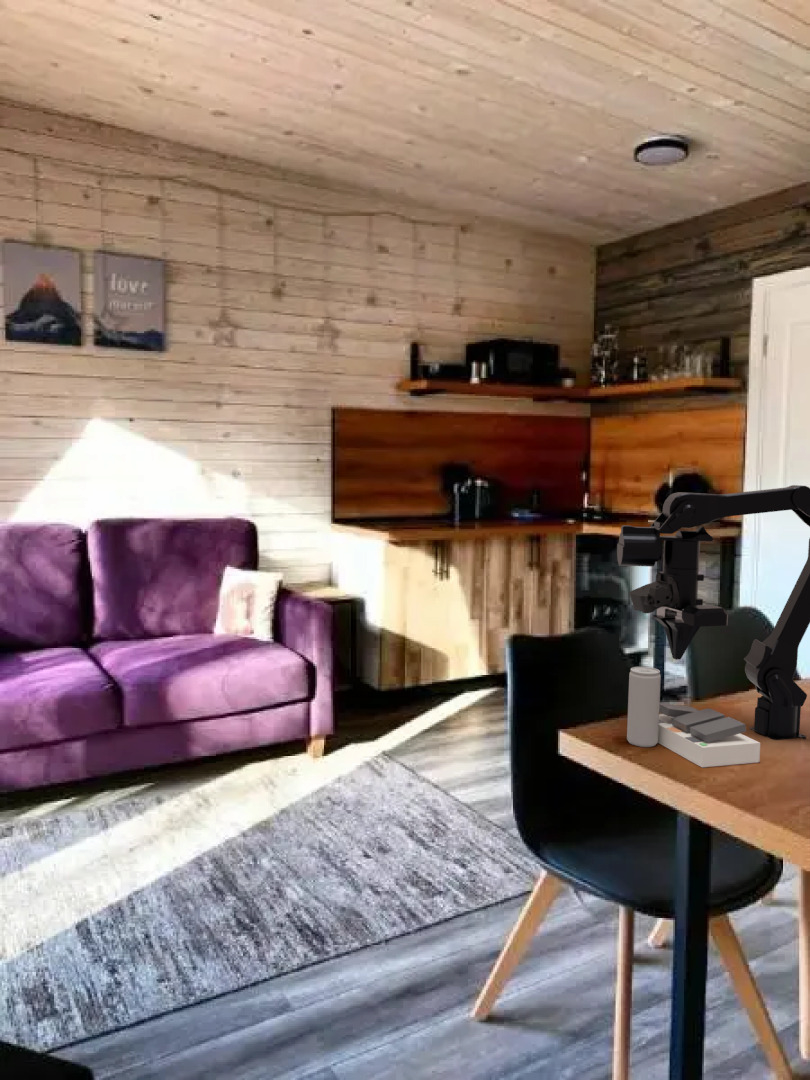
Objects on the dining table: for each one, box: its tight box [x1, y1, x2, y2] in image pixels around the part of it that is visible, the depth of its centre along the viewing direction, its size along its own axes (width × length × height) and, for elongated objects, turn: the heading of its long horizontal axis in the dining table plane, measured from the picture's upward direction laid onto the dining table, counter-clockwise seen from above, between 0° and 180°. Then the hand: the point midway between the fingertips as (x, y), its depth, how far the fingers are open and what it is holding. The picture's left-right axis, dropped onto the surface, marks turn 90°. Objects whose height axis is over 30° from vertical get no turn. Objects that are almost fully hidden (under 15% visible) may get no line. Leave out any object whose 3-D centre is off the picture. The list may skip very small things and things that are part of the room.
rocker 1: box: [659, 702, 700, 717], centre depth 140 cm, size 7×4×1 cm, turn 106°
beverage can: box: [626, 666, 662, 748], centre depth 137 cm, size 5×5×12 cm
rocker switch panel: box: [657, 713, 761, 768], centre depth 136 cm, size 10×17×3 cm, turn 16°
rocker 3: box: [690, 716, 747, 743], centre depth 131 cm, size 7×4×1 cm, turn 106°
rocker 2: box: [671, 707, 726, 733], centre depth 136 cm, size 7×4×1 cm, turn 106°
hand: (676, 659), depth 145 cm, fingers closed
